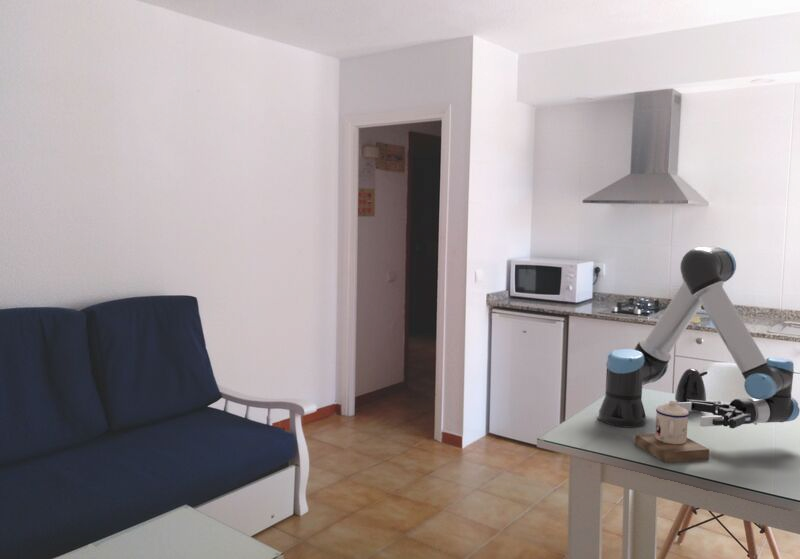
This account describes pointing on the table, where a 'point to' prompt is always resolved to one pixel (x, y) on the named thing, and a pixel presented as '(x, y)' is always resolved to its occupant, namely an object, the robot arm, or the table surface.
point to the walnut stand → (672, 449)
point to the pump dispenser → (691, 387)
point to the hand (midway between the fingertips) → (685, 414)
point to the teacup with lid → (671, 423)
